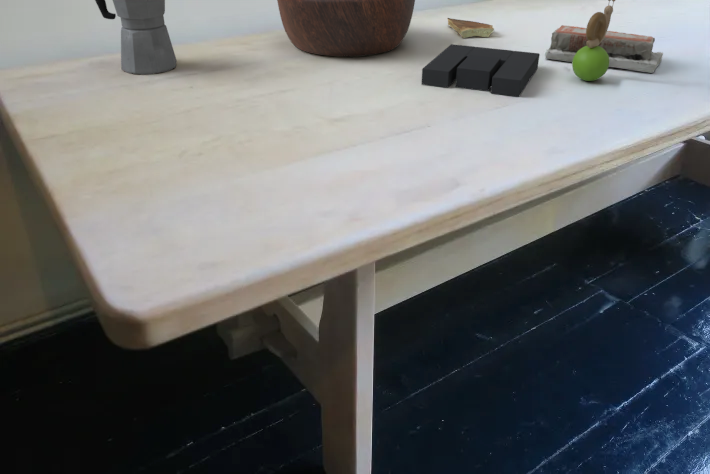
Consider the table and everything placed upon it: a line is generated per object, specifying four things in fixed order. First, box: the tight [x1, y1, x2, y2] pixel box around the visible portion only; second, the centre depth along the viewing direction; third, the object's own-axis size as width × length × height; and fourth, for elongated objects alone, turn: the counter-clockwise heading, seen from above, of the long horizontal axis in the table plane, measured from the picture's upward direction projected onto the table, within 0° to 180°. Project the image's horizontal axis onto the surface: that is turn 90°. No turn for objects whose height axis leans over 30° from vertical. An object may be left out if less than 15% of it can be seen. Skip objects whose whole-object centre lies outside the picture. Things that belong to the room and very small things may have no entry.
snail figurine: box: [571, 0, 616, 82], centre depth 102 cm, size 5×6×12 cm
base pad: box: [421, 43, 541, 98], centre depth 105 cm, size 15×16×2 cm
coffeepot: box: [94, 0, 177, 75], centre depth 106 cm, size 15×9×18 cm, turn 77°
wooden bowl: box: [276, 0, 416, 57], centre depth 121 cm, size 25×25×10 cm
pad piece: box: [455, 55, 501, 92], centre depth 103 cm, size 5×8×3 cm, turn 158°
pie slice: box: [447, 17, 495, 39], centre depth 132 cm, size 11×8×2 cm
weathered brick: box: [544, 24, 664, 74], centre depth 113 cm, size 18×5×10 cm
